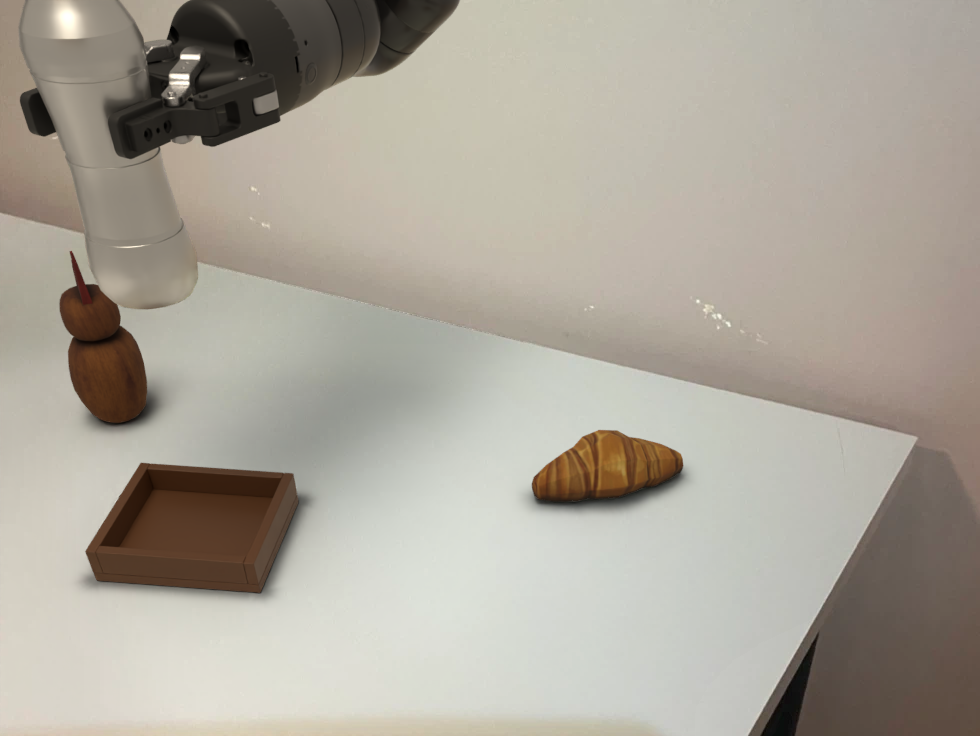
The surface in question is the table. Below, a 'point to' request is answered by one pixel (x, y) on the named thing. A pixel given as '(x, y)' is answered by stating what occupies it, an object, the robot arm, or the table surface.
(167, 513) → the tray
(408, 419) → the table surface
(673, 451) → the croissant
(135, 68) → the silver bottle
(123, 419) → the wooden figurine
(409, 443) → the table surface
